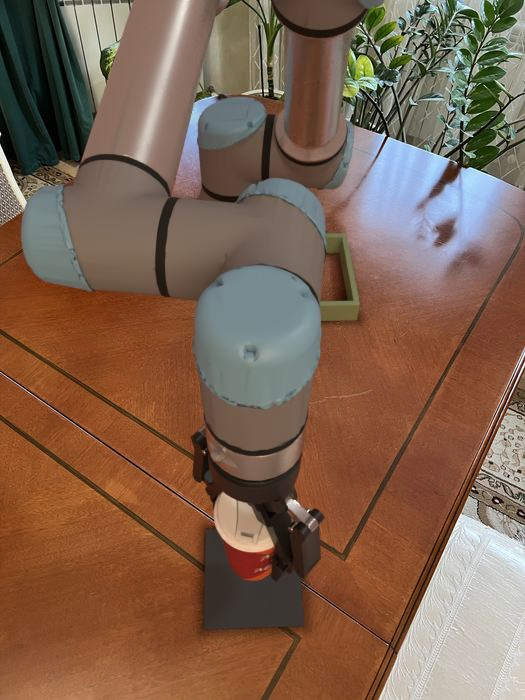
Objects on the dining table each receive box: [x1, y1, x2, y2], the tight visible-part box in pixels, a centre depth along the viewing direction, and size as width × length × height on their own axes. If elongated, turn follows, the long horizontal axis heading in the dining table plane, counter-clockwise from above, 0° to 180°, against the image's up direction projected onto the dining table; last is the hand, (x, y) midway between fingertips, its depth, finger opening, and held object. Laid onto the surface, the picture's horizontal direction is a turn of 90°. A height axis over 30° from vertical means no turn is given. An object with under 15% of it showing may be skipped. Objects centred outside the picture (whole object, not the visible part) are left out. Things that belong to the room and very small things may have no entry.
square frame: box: [320, 232, 361, 322], centre depth 102 cm, size 18×18×4 cm
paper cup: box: [213, 491, 277, 581], centre depth 60 cm, size 8×8×14 cm
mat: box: [202, 528, 305, 631], centre depth 72 cm, size 12×12×1 cm
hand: (253, 542), depth 62 cm, fingers closed on paper cup, 8 cm apart
